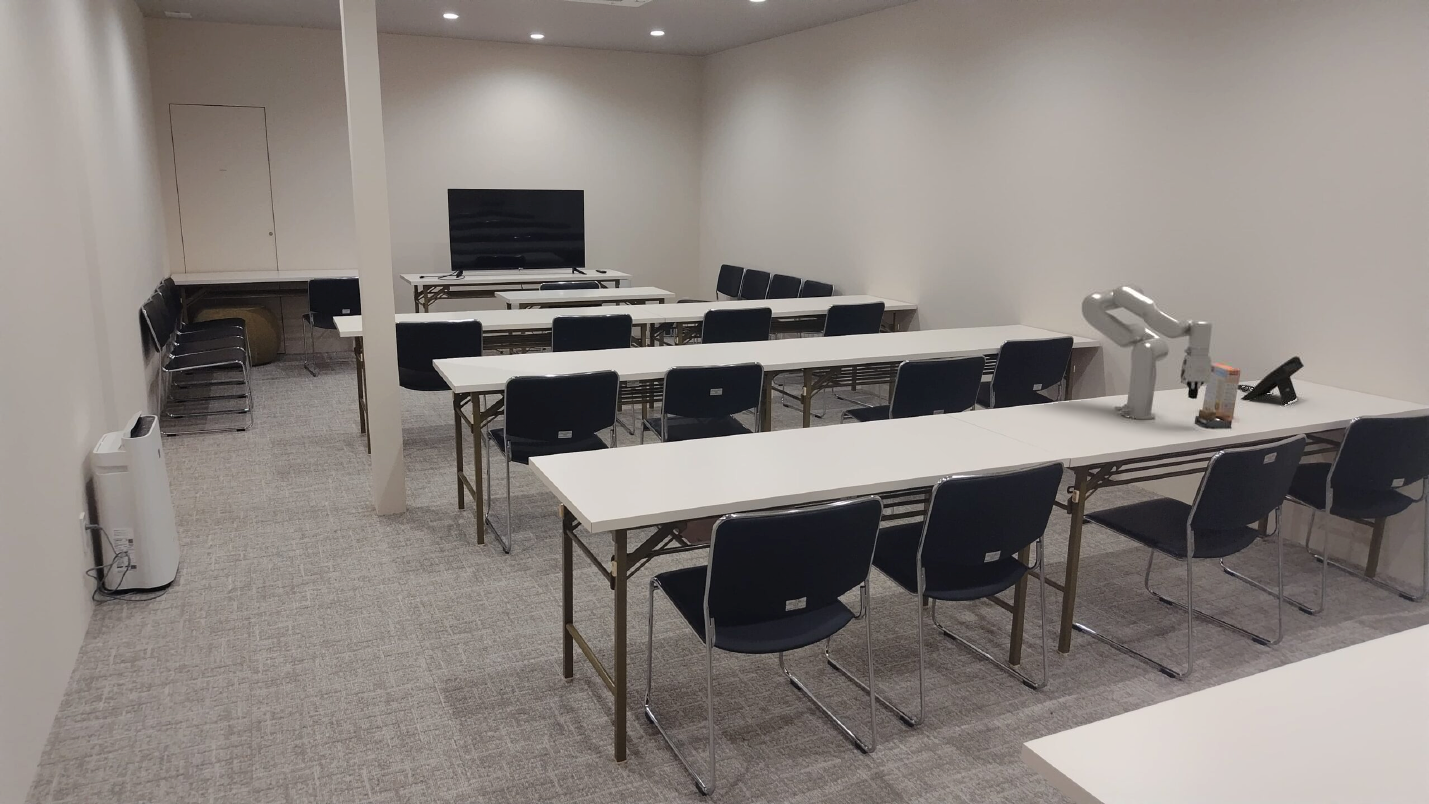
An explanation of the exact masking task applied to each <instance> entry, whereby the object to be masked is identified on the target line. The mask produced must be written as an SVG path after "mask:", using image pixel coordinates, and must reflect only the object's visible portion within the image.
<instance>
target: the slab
mask: <svg viewBox="0 0 1429 804" xmlns="http://www.w3.org/2000/svg"><path fill="white" fill-rule="evenodd" d="M1197 416H1198V417H1200V418H1202V419H1205V420H1215V417H1216V412H1214V411H1211V410H1209V409H1208V410H1202V409H1199V411H1198V415H1197Z"/></svg>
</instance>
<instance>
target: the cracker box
mask: <svg viewBox="0 0 1429 804" xmlns="http://www.w3.org/2000/svg"><path fill="white" fill-rule="evenodd" d="M1241 371H1242V370H1241V369H1239V368H1236V367H1232V366H1230V365H1227V364H1224V363H1215V362H1214V363H1212V362H1211V378H1210V380H1209V381H1208V383H1206V385H1205V390H1204V391H1205V393H1204V398H1203V404H1202V409H1201V410H1208V409H1209V410H1211V411H1214V412H1216V414H1217V411H1221V412H1224V413H1226V414H1229V415H1232V416H1233V418H1232V420H1233V419H1234V413H1235V407H1236V402H1237V401H1236V400H1237V396H1238V395H1237V394H1238V390H1239V389H1238V385H1240V384H1239V383H1240V377H1241Z"/></svg>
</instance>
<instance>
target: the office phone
mask: <svg viewBox="0 0 1429 804" xmlns="http://www.w3.org/2000/svg"><path fill="white" fill-rule="evenodd" d="M1303 367H1305V365H1304V364H1303V362H1302V361H1301V358H1300V357H1299V356H1293V357H1291V358H1289V359H1288V360H1286V361H1285V362H1283V364H1281V365H1280V366H1278V367H1277V368H1275V369H1274V370H1272V371H1271V372H1270V373H1268V374H1266V376H1264V377H1263V379H1261V380H1260V381H1259V382H1258V383H1257V384H1256V385H1255V386H1253V385H1249V384H1238V390H1239V389H1241V390H1240V391H1242V392H1247V393H1246V394H1244V396H1242V397H1241V398H1240V400H1241V399H1243V400H1242V401H1246V400H1250V401H1252V400H1255V399H1257V397H1258V398H1260V397H1263V396H1266V395H1268V394H1267V393H1272V394H1271V395H1274V392H1273V391H1274V389H1276V388H1278V389H1277V390H1278V392H1279V395H1280V399H1281V401H1282V404H1283V406H1284V405H1285V404H1288V402H1290V401H1293V400H1295V399H1296V398H1297V399H1298V396H1297V392H1296V391H1295V387H1294V384H1293V381H1292V378H1291V377H1292V376H1293V375H1294V374H1296V373H1297V372H1299V371H1300V370H1301V369H1302V368H1303ZM1242 386H1245V387H1250V388H1253V390H1252V389H1249V388H1244V387H1242ZM1271 391H1272V392H1271ZM1265 394H1266V395H1265ZM1262 395H1263V396H1262ZM1259 396H1260V397H1259ZM1254 398H1255V399H1254Z"/></svg>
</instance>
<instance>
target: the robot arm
mask: <svg viewBox="0 0 1429 804" xmlns="http://www.w3.org/2000/svg"><path fill="white" fill-rule="evenodd" d="M1121 308H1123V309H1125V310H1126V311H1128V312H1130V313H1132V314H1134V315H1135V316H1137V317H1139V318H1140V319H1142V320H1143V321H1144V323H1145V324H1146V325H1147V326H1148V327H1149V328H1151V329H1152V330H1154V331H1155V332H1157V333H1159V334H1160V335H1162V336H1164V337H1166V338H1169V339H1180V338H1184V337H1188V341H1187V347H1186V349H1184V353H1185V355H1184V357H1183V360H1182V365H1181V370H1180V384H1184V385H1186V386H1187V388H1188V392H1187V396H1188V398H1189V399H1192V400H1193V399H1195V400H1197V399H1198V394H1199V389H1201V386H1203V385H1205V384H1206V383H1208V381H1209V380H1210V378H1211V363H1212V357H1211V355H1209V354H1210V345H1211V338H1212V331H1213V330H1212V328H1213V324H1212V322H1211V320H1210V321H1209V320H1205V319H1203V320H1202V319H1197V320H1196V319H1193V318H1188V317H1179V318H1172V317H1171V316H1169V315H1167V314H1165V313H1164V312H1162V311H1161V310H1160V309H1159V308H1158V302H1157V301H1156V300H1155V299H1153V298H1152V297H1149V296H1148V295H1146V294H1144V290H1143V289H1142V287H1141V286H1140V285H1138V284H1133V283H1131V284H1123V285H1119V286H1118V287H1116V288H1113V289H1109V290H1104V291H1096V292H1092V293H1090V294H1087V295H1086V296H1085V297H1084V298H1083V301H1082V303H1081V313H1082V316H1083V318H1084V319H1085V321H1086V323H1088V324H1089V325H1090V326H1091V327H1093V328H1094V329H1095V330H1096V331H1098V332H1099V333H1101V334H1102V335H1103V336H1105V337H1106V338H1107V339H1109V340H1110V341H1111V342H1112V343H1114V344H1116V345H1117V346H1118V347H1120V348H1122V349H1123V348H1124V349H1128V348H1132V349H1131V354H1130V361H1131V362H1130V363H1131V365H1130V376H1129V378H1130V379H1129V383H1128V385H1129V386H1128V392H1127V393H1128V394H1127V401H1126V403H1124V405H1122V406H1118V405H1117V406H1115V407H1114V410H1115V411H1116V412H1121V415H1122V414H1123V415H1125V416H1124V417H1126V416H1129V417H1134V418H1136V419H1135V420H1144V419H1148V420H1153V419H1155V417H1156V414H1155V413H1153V411H1152V409H1153V404H1154V403H1153V402H1154V395H1155V387H1156V381H1157V362H1160V361H1163V360H1164V359H1165V358H1167V357H1168V354H1169V352H1170V351H1169V350H1170V349H1169V345H1168V344H1167V342H1166V341H1165V340H1164V339H1162V338H1161V337H1160V336H1159V335H1157V334H1155V333H1154V332H1152V331H1151V330H1150V329H1148V328H1147V327H1145V326H1144V325H1141V324H1139V323H1129V324H1128V323H1126V322H1123V321H1122V320H1120V319H1119V318H1118V317H1117V316H1115V315H1113V314H1111V313H1108V312H1110V311H1113V310H1117V309H1121ZM1123 415H1122V416H1123ZM1129 417H1128V418H1129ZM1134 418H1133V419H1134Z"/></svg>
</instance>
